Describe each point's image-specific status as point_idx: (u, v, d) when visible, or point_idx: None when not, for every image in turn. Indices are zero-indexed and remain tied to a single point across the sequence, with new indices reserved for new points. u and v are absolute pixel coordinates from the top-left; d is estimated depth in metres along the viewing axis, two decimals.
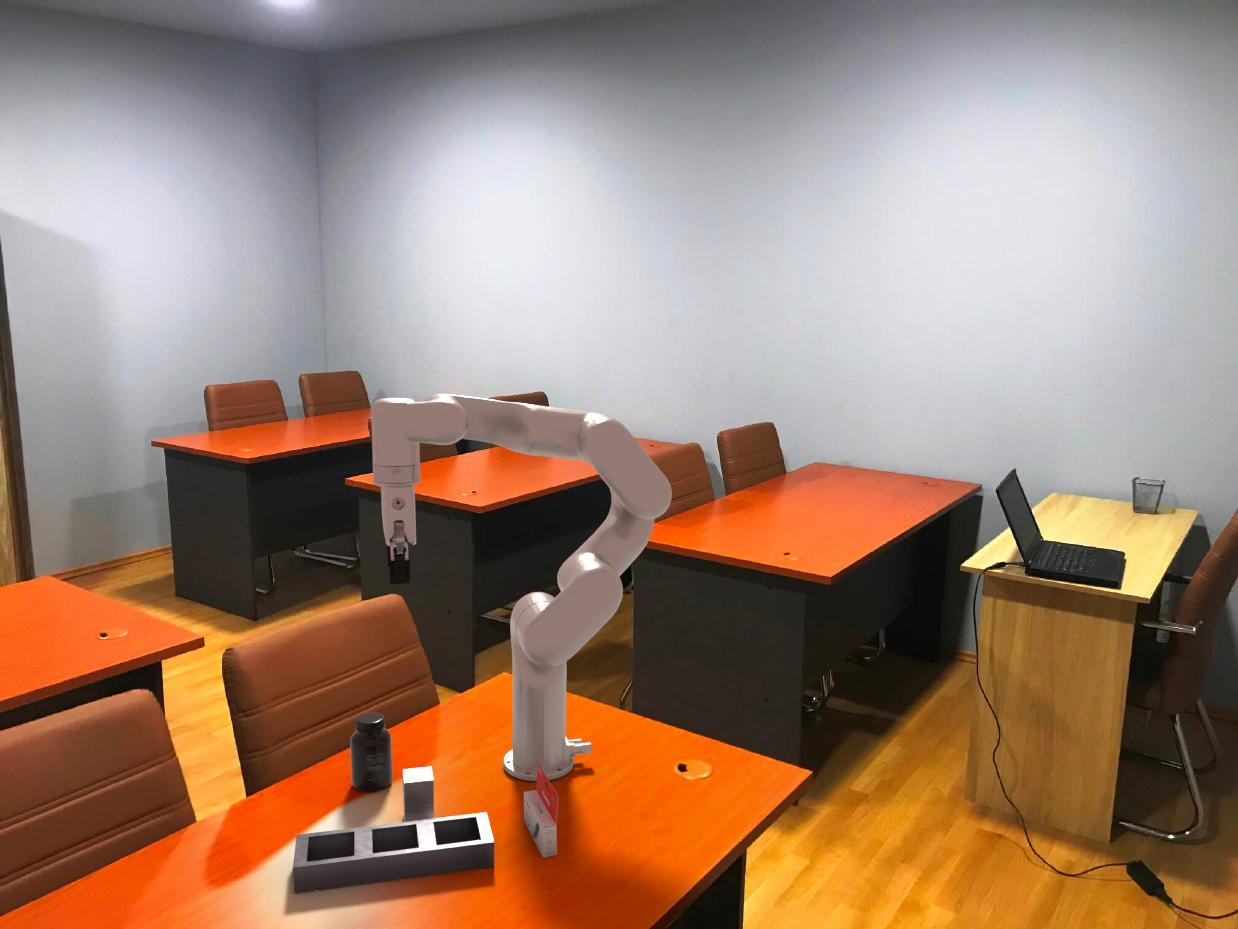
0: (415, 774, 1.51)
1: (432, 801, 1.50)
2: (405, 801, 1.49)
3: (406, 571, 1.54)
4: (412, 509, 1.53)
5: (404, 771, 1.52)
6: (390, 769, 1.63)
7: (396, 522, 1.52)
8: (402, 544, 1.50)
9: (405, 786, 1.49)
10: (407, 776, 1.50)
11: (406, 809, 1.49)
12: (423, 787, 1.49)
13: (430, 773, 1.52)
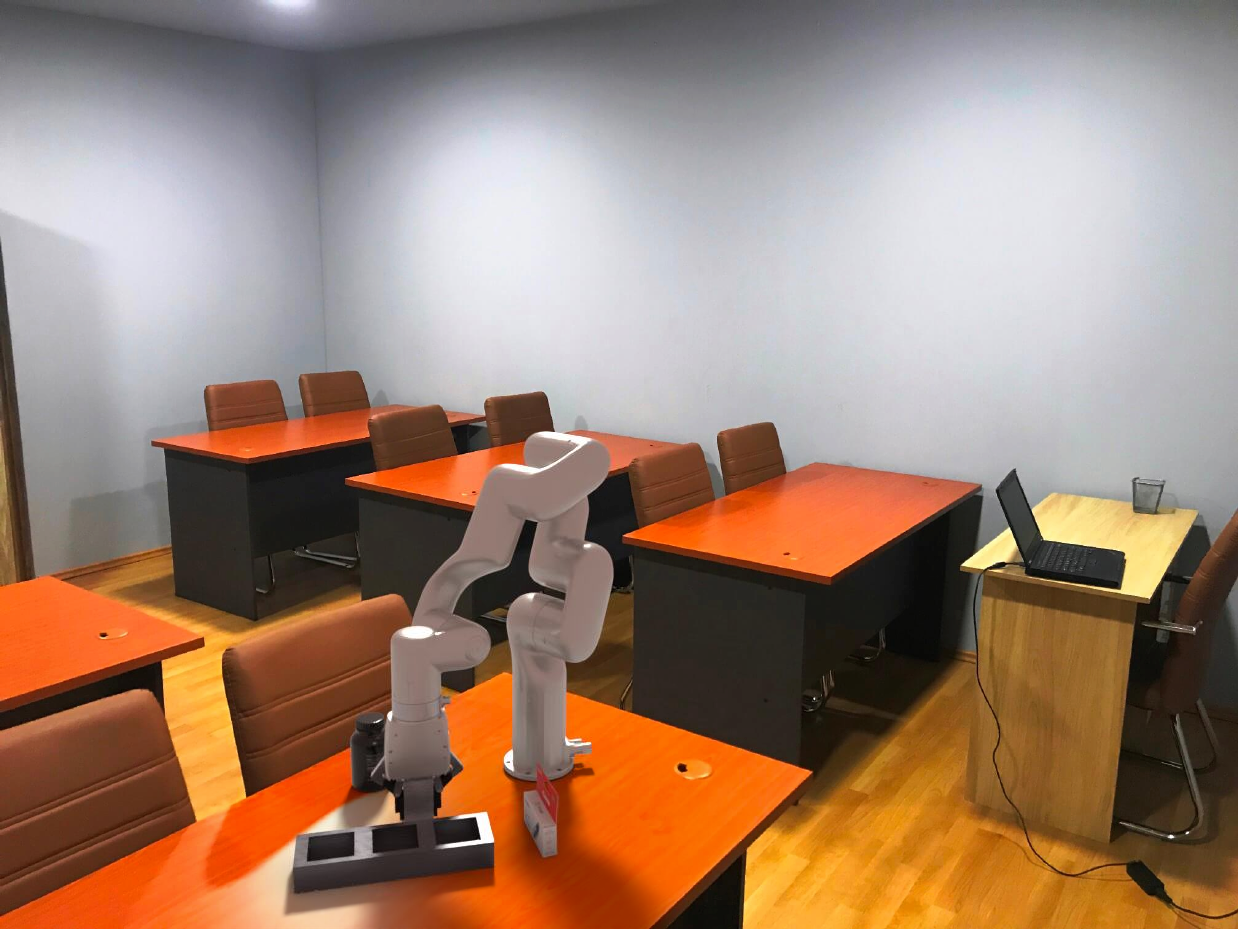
0: None
1: (432, 801, 1.50)
2: (405, 801, 1.49)
3: None
4: None
5: None
6: None
7: None
8: None
9: (405, 786, 1.49)
10: None
11: (406, 809, 1.49)
12: (423, 787, 1.49)
13: None
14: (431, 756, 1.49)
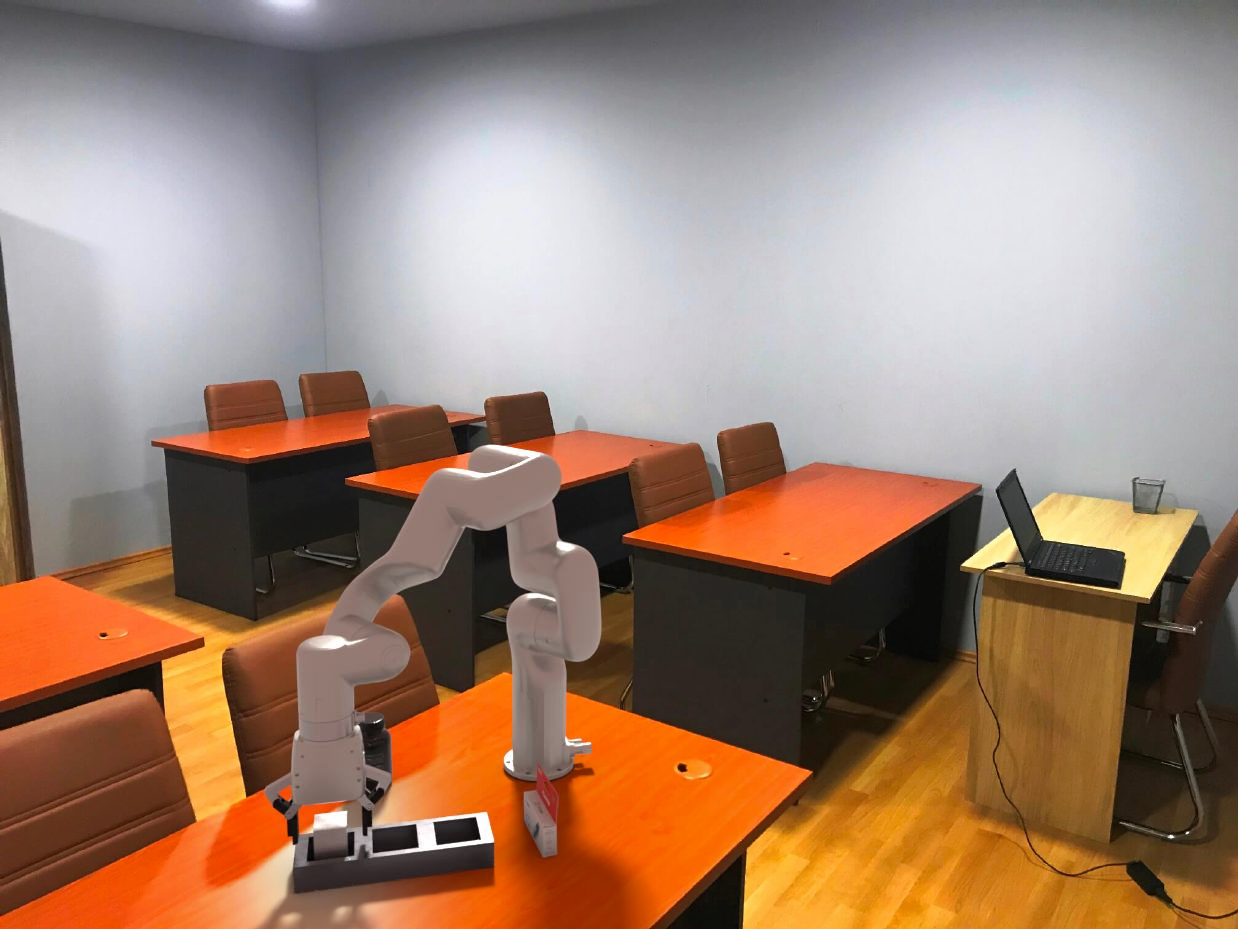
0: (327, 820, 1.38)
1: (345, 850, 1.36)
2: (315, 851, 1.35)
3: None
4: None
5: (316, 816, 1.38)
6: (390, 769, 1.63)
7: (365, 767, 1.37)
8: None
9: (314, 834, 1.35)
10: (319, 823, 1.37)
11: (316, 859, 1.35)
12: (335, 836, 1.36)
13: (344, 819, 1.38)
14: (343, 779, 1.34)
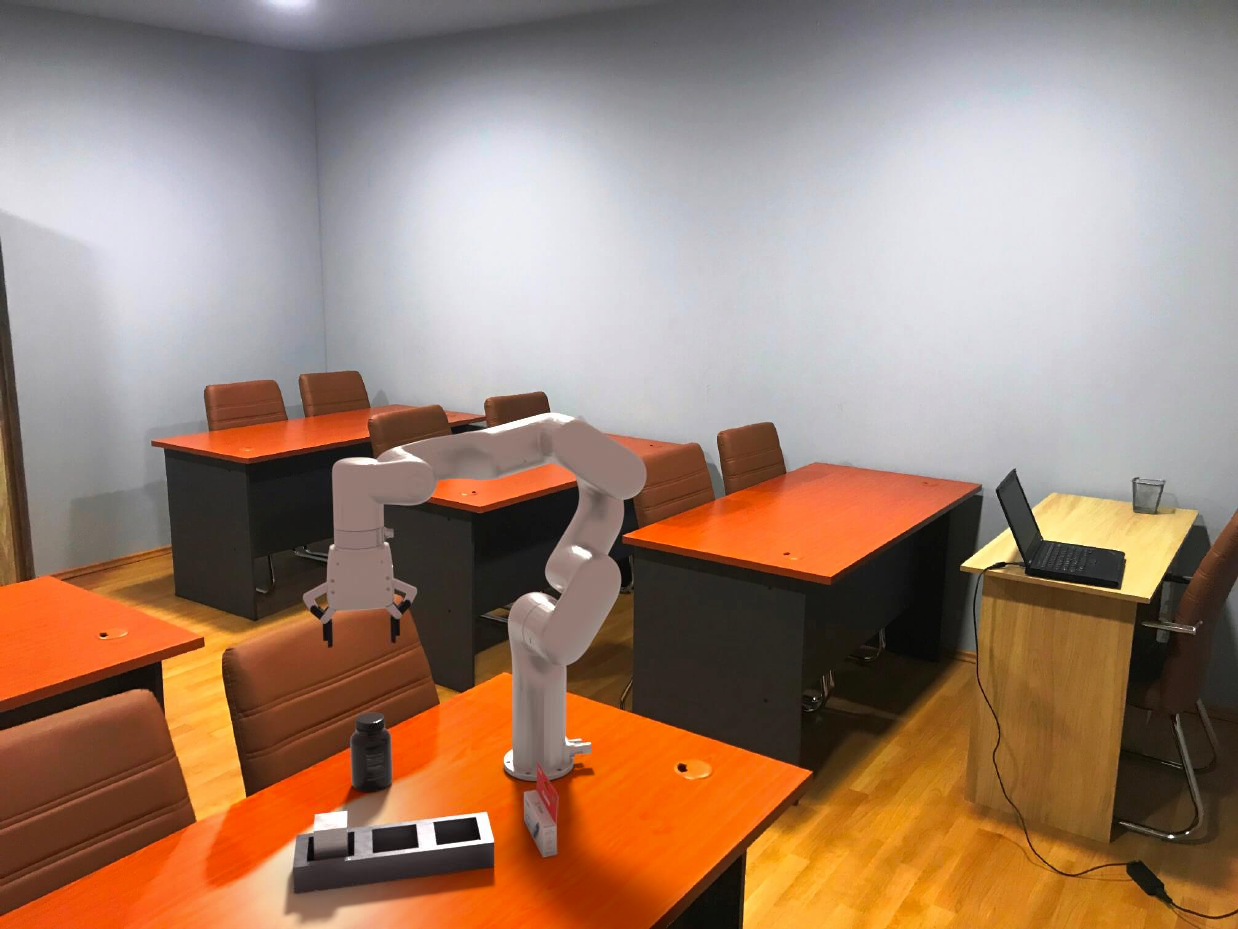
0: (327, 820, 1.38)
1: (345, 850, 1.36)
2: (315, 851, 1.35)
3: None
4: None
5: (316, 816, 1.38)
6: (390, 769, 1.63)
7: (393, 579, 1.51)
8: None
9: (315, 834, 1.35)
10: (319, 823, 1.37)
11: (316, 859, 1.35)
12: (335, 836, 1.36)
13: (344, 819, 1.38)
14: (374, 587, 1.48)
